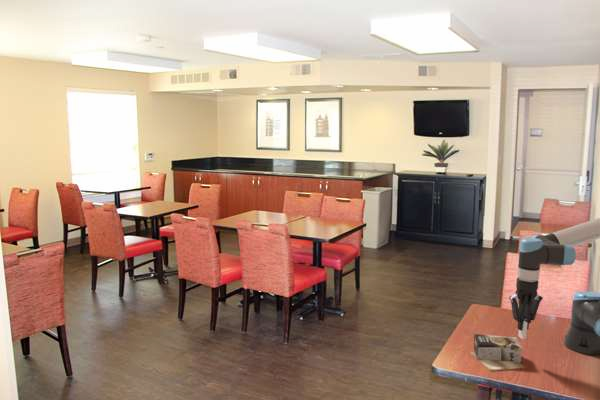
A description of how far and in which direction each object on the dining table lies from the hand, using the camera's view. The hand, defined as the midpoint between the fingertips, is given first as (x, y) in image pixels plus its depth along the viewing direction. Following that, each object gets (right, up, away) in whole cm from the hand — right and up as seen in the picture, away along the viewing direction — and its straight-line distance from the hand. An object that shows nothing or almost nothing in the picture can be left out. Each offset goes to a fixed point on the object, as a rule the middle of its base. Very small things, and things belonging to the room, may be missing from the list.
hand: (522, 337), depth 194 cm
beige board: (-10, -9, +1) cm, 13 cm away
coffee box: (0, -5, +2) cm, 5 cm away
